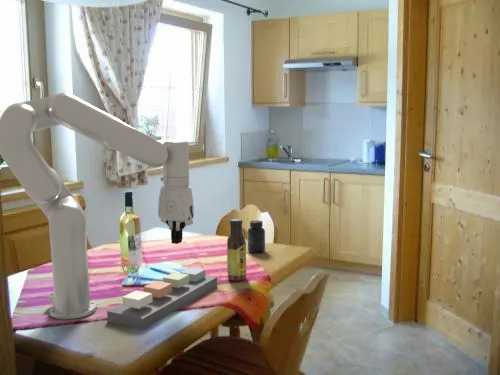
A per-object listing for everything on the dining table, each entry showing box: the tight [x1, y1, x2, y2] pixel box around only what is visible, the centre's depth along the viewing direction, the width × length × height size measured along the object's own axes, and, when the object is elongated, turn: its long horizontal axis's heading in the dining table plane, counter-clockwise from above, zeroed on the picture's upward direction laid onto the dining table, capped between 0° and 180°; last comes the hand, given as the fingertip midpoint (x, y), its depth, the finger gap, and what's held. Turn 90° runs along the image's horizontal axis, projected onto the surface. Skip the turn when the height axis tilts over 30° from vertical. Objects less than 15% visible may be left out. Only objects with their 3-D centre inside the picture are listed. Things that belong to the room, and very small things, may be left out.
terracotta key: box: [143, 280, 172, 298], centre depth 156 cm, size 6×6×2 cm
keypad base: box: [106, 275, 218, 331], centre depth 160 cm, size 12×37×3 cm, turn 152°
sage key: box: [162, 272, 189, 288], centre depth 164 cm, size 6×6×2 cm
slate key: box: [179, 266, 206, 282], centre depth 172 cm, size 6×6×2 cm
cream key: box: [122, 290, 152, 309], centre depth 148 cm, size 6×6×2 cm
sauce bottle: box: [226, 218, 247, 282], centre depth 179 cm, size 7×6×20 cm
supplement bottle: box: [247, 220, 266, 255], centre depth 212 cm, size 7×7×12 cm
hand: (176, 242), depth 163 cm, fingers closed
